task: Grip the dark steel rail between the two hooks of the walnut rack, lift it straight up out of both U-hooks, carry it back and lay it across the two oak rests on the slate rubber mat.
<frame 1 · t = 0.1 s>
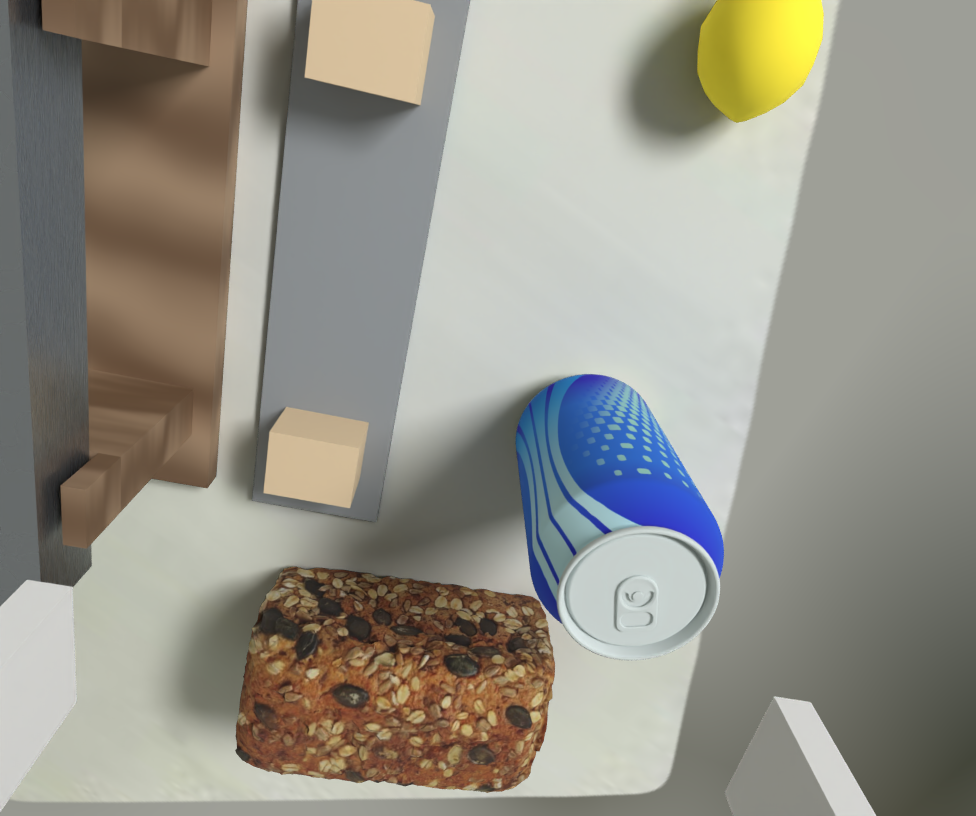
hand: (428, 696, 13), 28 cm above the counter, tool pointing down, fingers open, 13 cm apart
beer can: (581, 428, 41), on the counter
slate mat with oak rests: (349, 267, 37), on the counter
bread: (407, 627, 48), on the counter
steel rail: (47, 261, 27), point 10 cm above the counter, touching walnut rack
lemon: (736, 48, 33), on the counter
walnut rack: (157, 226, 36), on the counter
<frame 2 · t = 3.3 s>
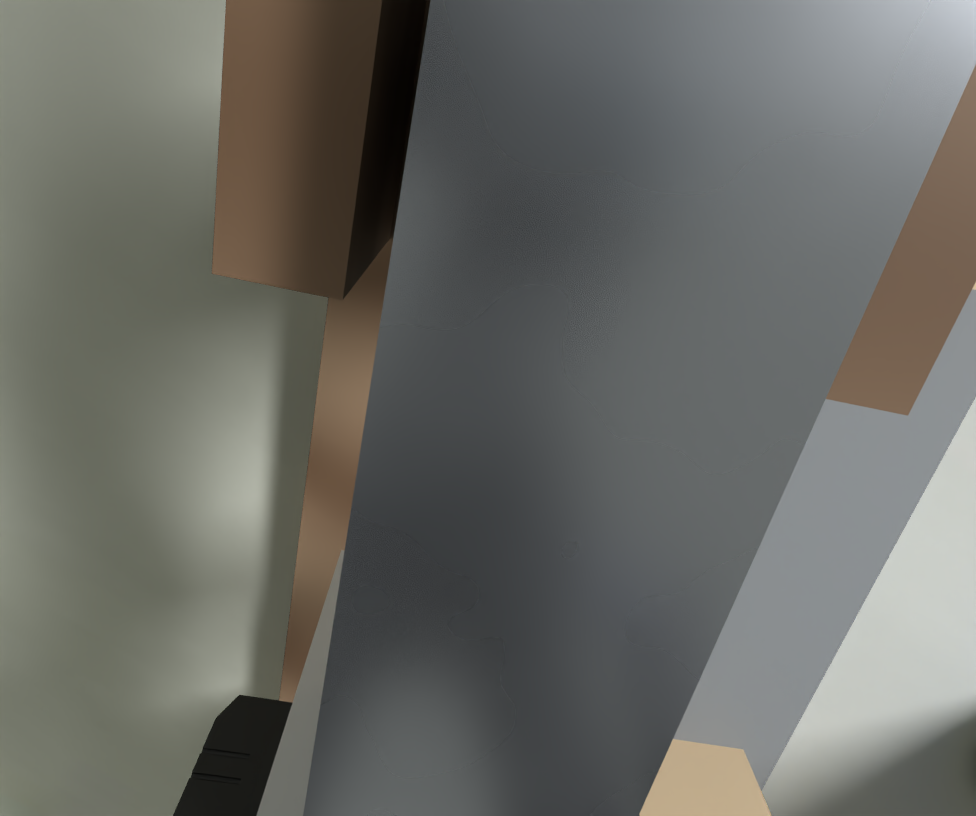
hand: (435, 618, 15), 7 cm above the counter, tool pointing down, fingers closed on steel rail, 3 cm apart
slate mat with oak rests: (764, 531, 22), on the counter
steel rail: (423, 756, 11), point 10 cm above the counter, touching gripper, walnut rack
walnut rack: (447, 473, 21), on the counter
when the fingers open (3 cm above the counter, at t = 9.4 s): steel rail drops 2 cm, resting on slate mat with oak rests.
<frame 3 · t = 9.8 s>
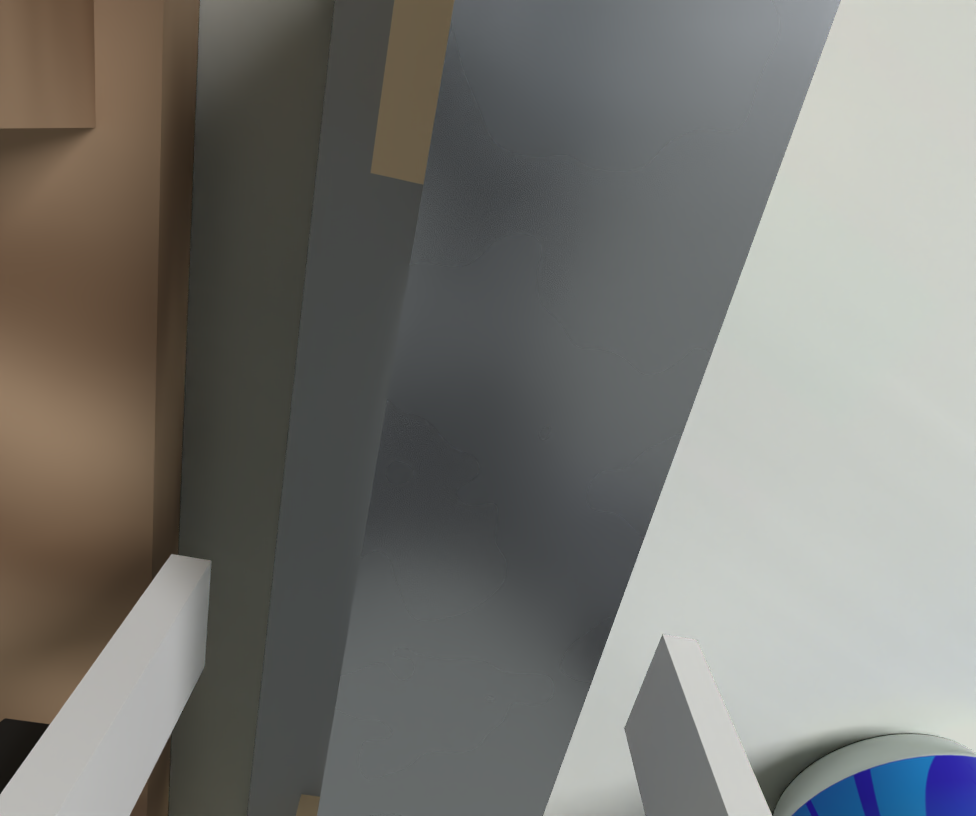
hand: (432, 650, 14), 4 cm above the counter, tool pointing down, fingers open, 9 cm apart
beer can: (876, 805, 21), on the counter
slate mat with oak rests: (441, 550, 17), on the counter
steel rail: (431, 668, 13), point 4 cm above the counter, touching slate mat with oak rests
walnut rack: (9, 476, 16), on the counter
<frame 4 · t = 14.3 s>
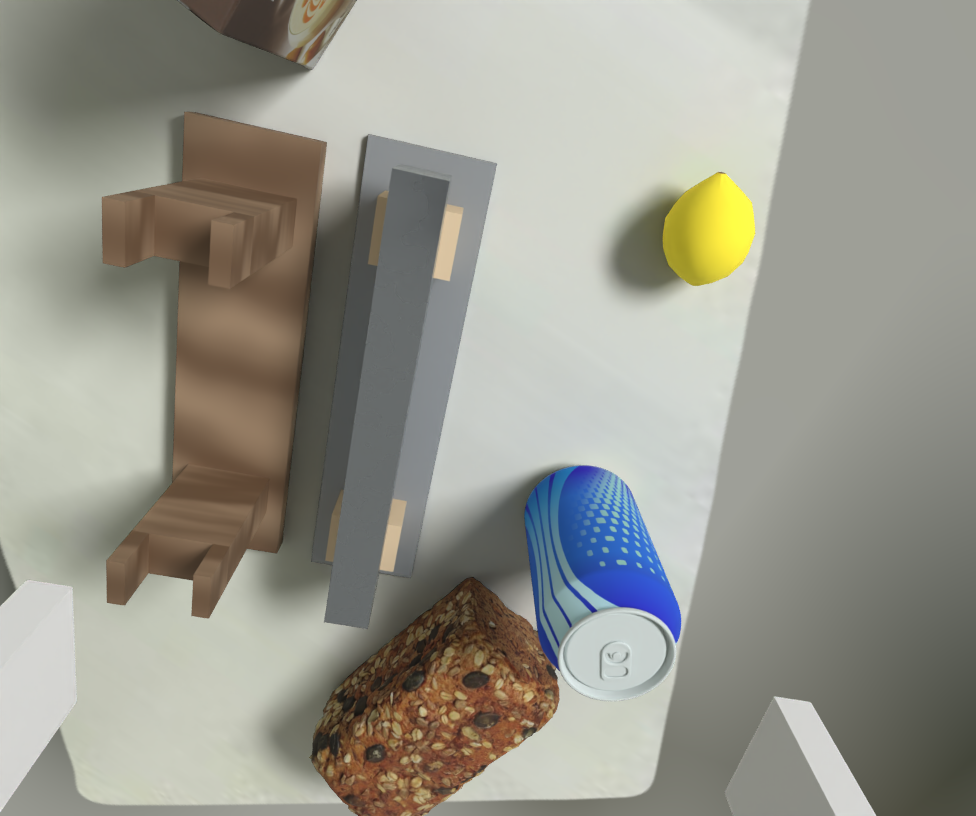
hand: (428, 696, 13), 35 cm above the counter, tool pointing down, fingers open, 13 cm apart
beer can: (577, 503, 52), on the counter
slate mat with oak rests: (393, 384, 47), on the counter
bread: (437, 660, 58), on the counter
steel rail: (386, 406, 43), point 4 cm above the counter, touching slate mat with oak rests
lemon: (694, 225, 43), on the counter
walnut rack: (244, 355, 46), on the counter
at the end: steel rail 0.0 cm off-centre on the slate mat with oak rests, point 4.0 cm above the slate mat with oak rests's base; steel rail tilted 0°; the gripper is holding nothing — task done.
